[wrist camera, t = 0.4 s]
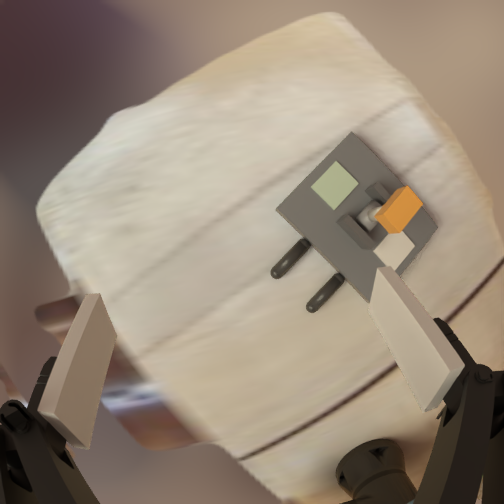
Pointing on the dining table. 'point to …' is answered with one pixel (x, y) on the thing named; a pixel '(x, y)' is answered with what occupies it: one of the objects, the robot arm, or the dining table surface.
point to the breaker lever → (390, 211)
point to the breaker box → (349, 221)
